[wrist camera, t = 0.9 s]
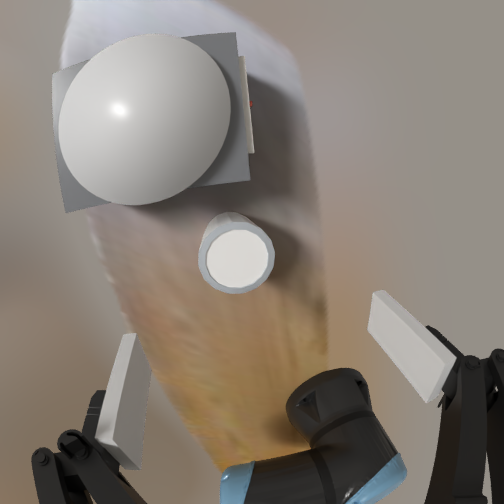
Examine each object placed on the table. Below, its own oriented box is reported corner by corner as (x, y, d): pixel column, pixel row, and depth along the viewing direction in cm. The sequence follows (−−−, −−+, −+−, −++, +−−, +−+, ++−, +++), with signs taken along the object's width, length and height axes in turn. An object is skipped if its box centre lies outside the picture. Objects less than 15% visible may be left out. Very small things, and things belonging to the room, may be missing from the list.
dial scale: (246, 175, 29) (267, 187, 20) (102, 199, 27) (61, 222, 18) (234, 60, 24) (250, 21, 15) (90, 87, 22) (47, 66, 13)
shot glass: (250, 270, 33) (262, 300, 26) (192, 258, 31) (190, 287, 25) (267, 214, 31) (285, 231, 24) (206, 199, 29) (207, 213, 23)
